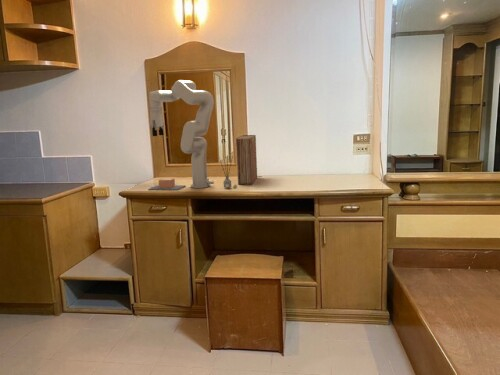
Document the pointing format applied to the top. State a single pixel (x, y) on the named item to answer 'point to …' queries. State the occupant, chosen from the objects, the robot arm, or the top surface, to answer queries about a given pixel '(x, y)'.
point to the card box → (166, 183)
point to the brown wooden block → (246, 159)
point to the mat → (177, 187)
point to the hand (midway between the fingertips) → (158, 135)
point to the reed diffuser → (227, 177)
